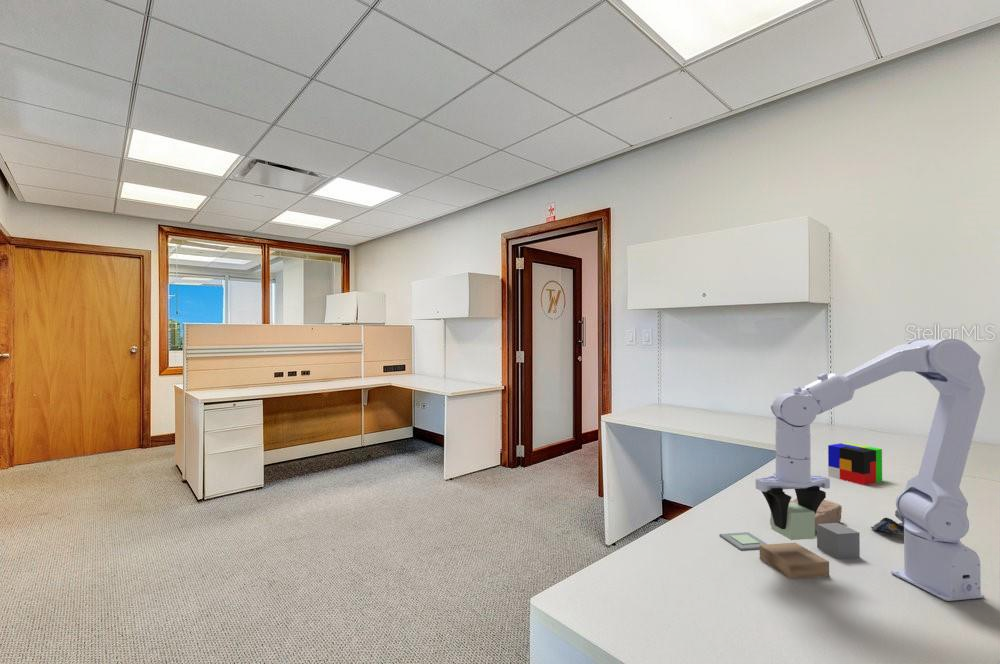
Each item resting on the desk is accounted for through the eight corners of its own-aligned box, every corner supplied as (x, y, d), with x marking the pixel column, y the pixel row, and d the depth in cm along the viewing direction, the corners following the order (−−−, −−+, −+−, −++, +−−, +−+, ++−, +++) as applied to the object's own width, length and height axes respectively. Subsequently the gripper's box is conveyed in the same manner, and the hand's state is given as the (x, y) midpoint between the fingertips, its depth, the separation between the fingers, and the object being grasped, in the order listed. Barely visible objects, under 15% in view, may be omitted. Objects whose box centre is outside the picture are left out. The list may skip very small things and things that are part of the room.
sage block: (814, 538, 86) (814, 511, 86) (791, 540, 85) (791, 513, 85) (793, 527, 91) (793, 502, 91) (771, 529, 90) (771, 503, 90)
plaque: (771, 548, 95) (771, 545, 95) (740, 550, 94) (740, 547, 94) (747, 533, 102) (748, 531, 102) (719, 535, 101) (719, 533, 101)
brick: (806, 537, 101) (806, 516, 101) (768, 524, 109) (768, 504, 109) (843, 523, 109) (843, 504, 110) (805, 512, 117) (805, 493, 117)
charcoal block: (859, 557, 92) (859, 532, 92) (838, 559, 91) (837, 534, 91) (837, 546, 97) (837, 522, 97) (817, 547, 96) (816, 524, 96)
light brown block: (829, 577, 84) (829, 561, 84) (790, 581, 83) (790, 564, 83) (795, 557, 92) (795, 542, 92) (759, 560, 91) (759, 544, 91)
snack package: (879, 521, 111) (865, 533, 104) (885, 496, 110) (872, 505, 103) (949, 548, 101) (939, 563, 94) (956, 520, 101) (947, 533, 93)
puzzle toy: (828, 476, 147) (828, 445, 147) (846, 472, 151) (846, 442, 151) (863, 485, 138) (863, 452, 138) (882, 481, 142) (881, 449, 142)
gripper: (808, 449, 93) (808, 516, 93) (744, 451, 91) (744, 520, 91) (839, 458, 86) (839, 530, 86) (770, 461, 84) (770, 535, 84)
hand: (792, 526), depth 88 cm, fingers closed on sage block, 5 cm apart
